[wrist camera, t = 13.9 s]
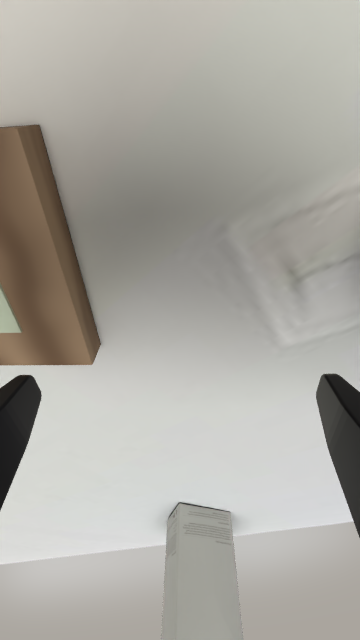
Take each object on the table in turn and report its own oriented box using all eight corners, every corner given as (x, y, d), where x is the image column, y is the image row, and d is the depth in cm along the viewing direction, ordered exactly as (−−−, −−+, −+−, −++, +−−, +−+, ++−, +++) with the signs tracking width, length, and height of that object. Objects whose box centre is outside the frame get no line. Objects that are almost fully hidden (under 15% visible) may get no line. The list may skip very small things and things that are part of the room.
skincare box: (166, 517, 46) (154, 673, 34) (179, 499, 43) (170, 667, 30) (217, 527, 47) (223, 681, 35) (234, 511, 44) (248, 676, 31)
